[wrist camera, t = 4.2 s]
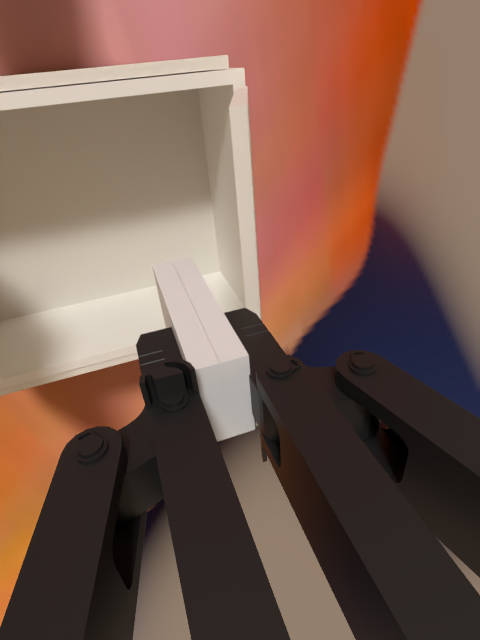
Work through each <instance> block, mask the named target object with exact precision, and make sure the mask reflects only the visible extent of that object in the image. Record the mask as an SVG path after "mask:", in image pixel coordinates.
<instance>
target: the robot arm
mask: <svg viewBox="0 0 480 640" xmlns="http://www.w3.org/2000/svg"><path fill="white" fill-rule="evenodd" d="M152 268H153V272H154V277H155V281H156V286H157V290H158V295H159V299H160V304H161V308H162V313H163V317H164V322H165V326H166V328H165V329H161V330H157V331H153V332H149V333H145V334H141V335H140V337H139V339H138V342H137V344H136V348H137V353H138V359H139V364H140V369H141V374H142V375H141V376H140V383H139V385H140V388H141V392H142V395H143V398H144V402H145V407H144V409H143V411H142V412H141V414H140V415H139V416H138V417H137V418H136V419H135V420H134V421H133V422H131V423H130V424H128V425H127V426H125V427H123V428H122V429H120V430H118V431H117V430H115V429H112V428H110V427H99V426H98V427H94V428H90V429H87V430H85V431H83V432H81V433H79V434H78V435H76V436H75V437H74V438H73V439H72V440H70V441H69V442H68V443H67V445H66V446H65V448H64V450H63V451H62V453H61V456H60V459H59V462H58V465H57V467H56V470H55V473H54V476H53V479H52V482H51V484H50V487H49V490H48V493H47V496H46V499H45V502H44V504H43V507H42V510H41V513H40V516H39V519H38V522H37V524H36V527H35V530H34V533H33V536H32V539H31V542H30V544H29V547H28V550H27V553H26V556H25V559H24V561H23V564H22V567H21V570H20V573H19V576H18V579H17V581H16V584H15V587H14V590H13V593H12V596H11V599H10V601H9V604H8V607H7V610H6V613H5V616H4V618H3V621H2V624H1V627H0V640H132V639H133V630H134V622H135V613H136V604H137V595H138V587H139V577H140V568H141V560H142V550H143V542H144V533H145V524H146V516H147V509H149V508H150V507H152V506H153V505H155V504H156V503H157V502H159V501H160V500H162V499H163V498H164V500H165V506H166V510H167V516H168V521H169V526H170V531H171V537H172V541H173V547H174V552H175V556H176V562H177V568H178V572H179V577H180V583H181V588H182V593H183V598H184V604H185V609H186V614H187V619H188V624H189V629H190V634H191V639H192V640H290V637H289V635H288V632H287V629H286V626H285V624H284V621H283V618H282V616H281V613H280V610H279V608H278V605H277V602H276V599H275V597H274V594H273V591H272V589H271V586H270V583H269V580H268V578H267V575H266V572H265V570H264V567H263V564H262V561H261V559H260V556H259V553H258V551H257V548H256V545H255V542H254V540H253V537H252V534H251V532H250V529H249V527H248V524H247V521H246V518H245V515H244V513H243V510H242V508H241V505H240V502H239V499H238V496H237V494H236V491H235V488H234V486H233V483H232V481H231V478H230V475H229V472H228V469H227V467H226V464H225V461H224V459H223V456H222V453H221V451H220V448H219V445H218V443H217V442H218V441H221V440H224V439H227V438H230V437H234V436H236V435H240V434H243V433H246V432H249V431H252V430H255V423H254V418H255V420H256V422H257V424H258V426H259V428H260V437H261V450H262V457H263V462H265V461H267V456H268V458H269V459H270V462H271V464H272V466H273V468H274V470H275V472H276V474H277V477H278V479H279V480H280V483H281V485H282V487H283V489H284V491H285V493H286V495H287V497H288V499H289V501H290V503H291V506H292V508H293V510H294V512H295V514H296V516H297V518H298V520H299V522H300V524H301V526H302V529H303V530H304V533H305V535H306V537H307V539H308V541H309V543H310V545H311V547H312V549H313V551H314V553H315V555H316V558H317V559H318V562H319V564H320V566H321V568H322V570H323V572H324V574H325V576H326V579H327V580H328V583H329V585H330V587H331V589H332V591H333V593H334V595H335V597H336V599H337V601H338V603H339V606H340V607H341V610H342V612H343V614H344V616H345V618H346V620H347V622H348V624H349V626H350V628H351V630H352V633H353V635H354V637H355V639H356V640H480V595H479V594H478V592H477V591H476V590H475V588H474V587H473V586H472V585H471V583H470V582H469V581H468V579H467V578H466V577H465V575H464V574H463V573H462V571H461V570H460V569H459V568H458V566H457V565H456V564H455V562H454V561H453V559H452V558H451V557H450V556H449V554H448V553H447V552H446V550H445V549H444V548H443V546H442V545H441V544H440V543H439V541H438V540H437V538H438V539H439V540H440V541H441V542H442V543H443V544H444V545H445V546H446V547H447V548H449V549H450V550H451V551H452V552H453V553H454V554H455V555H456V556H457V557H458V558H459V559H460V560H461V561H462V562H464V563H465V564H466V565H467V566H468V567H469V568H470V569H471V570H472V571H473V572H474V573H475V574H476V575H478V576H479V577H480V418H478V417H476V416H475V415H473V414H472V413H470V412H468V411H467V410H465V409H464V408H462V407H460V406H459V405H457V404H456V403H454V402H452V401H451V400H449V399H448V398H446V397H444V396H443V395H441V394H440V393H438V392H437V391H435V390H433V389H432V388H430V387H429V386H427V385H425V384H424V383H422V382H421V381H419V380H417V379H416V378H414V377H413V376H411V375H409V374H408V373H406V372H405V371H403V370H401V369H400V368H398V367H397V366H395V365H393V364H392V363H390V362H388V361H387V360H385V359H384V358H382V357H381V356H379V355H377V354H374V353H372V352H368V351H363V350H356V351H349V352H346V353H343V354H342V355H341V356H340V357H338V359H337V362H336V367H307V366H305V365H304V363H302V362H301V361H300V360H299V359H298V358H295V357H293V356H290V355H286V354H285V352H284V351H283V350H282V348H281V347H280V346H279V344H278V343H277V341H276V340H275V339H274V337H273V336H272V335H271V333H270V332H269V331H268V329H267V328H266V326H265V325H264V324H263V322H262V321H261V319H260V318H259V317H258V315H257V314H256V313H254V312H252V311H250V310H249V309H247V308H242V309H238V310H234V311H230V312H225V313H224V312H223V311H222V309H221V307H220V306H219V304H218V302H217V301H216V299H215V297H214V296H213V294H212V292H211V290H210V289H209V287H208V285H207V284H206V282H205V280H204V279H203V277H202V275H201V274H200V272H199V270H198V268H197V267H196V265H195V263H194V262H193V260H192V258H191V257H189V258H184V259H180V260H175V261H170V262H165V263H160V264H156V265H152ZM436 537H437V538H436Z"/></svg>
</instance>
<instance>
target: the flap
mask: <svg viewBox="0 0 480 640" xmlns="http://www.w3.org/2000/svg"><path fill="white" fill-rule="evenodd" d="M229 113H230V125H231V137H232V148H233V160H234V172H235V183H236V195H237V207H238V219H239V230H240V242H241V254H242V266H243V277H244V289H245V301H246V308H247V309H249V310H250V311H252V312H254V313H256V314H257V315H258V317H259V318H260V319H261V321H262V317H261V301H260V284H259V268H258V251H257V235H256V218H255V202H254V185H253V169H252V152H251V136H250V119H249V103H248V86H244V87H236V90H235V93H234V95H233V98H232V101H231V103H230V106H229ZM256 426H258V424H257V422H256Z"/></svg>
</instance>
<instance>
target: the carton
mask: <svg viewBox="0 0 480 640" xmlns="http://www.w3.org/2000/svg"><path fill="white" fill-rule="evenodd" d="M225 68H229V63H228V55H222V56H211V57H201V58H190V59H180V60H169V61H158V62H148V63H137V64H126V65H116V66H105V67H95V68H84V69H73V70H63V71H52V72H41V73H31V74H20V75H9V76H0V396H2V395H6V394H9V393H13V392H17V391H20V390H24V389H28V388H32V387H35V386H39V385H43V384H47V383H50V382H54V381H58V380H62V379H65V378H69V377H73V376H77V375H80V374H84V373H88V372H92V371H95V370H99V369H103V368H107V367H110V366H114V365H118V364H122V363H125V362H129V361H133V360H137V359H138V353H137V348H136V344H137V342H138V339H139V337H140V335H141V334H145V333H149V332H153V331H157V330H161V329H165V328H166V326H165V322H164V317H163V313H162V308H161V304H160V299H159V295H158V290H157V286H156V281H155V277H154V272H153V268H152V265H156V264H160V263H165V262H170V261H175V260H180V259H184V258H189V257H191V258H192V260H193V262H194V263H195V265H196V267H197V268H198V270H199V272H200V274H201V275H202V277H203V279H204V280H205V282H206V284H207V285H208V287H209V289H210V290H211V292H212V294H213V296H214V297H215V299H216V301H217V302H218V304H219V306H220V307H221V309H222V311H223V312H224V313H225V312H230V311H234V310H238V309H242V308H246V301H245V289H244V277H243V266H242V254H241V242H240V230H239V219H238V207H237V195H236V183H235V172H234V160H233V148H232V137H231V125H230V113H229V106H230V103H231V101H232V98H233V95H234V93H235V90H236V87H244V86H245V73H244V68H229V69H225Z"/></svg>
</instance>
